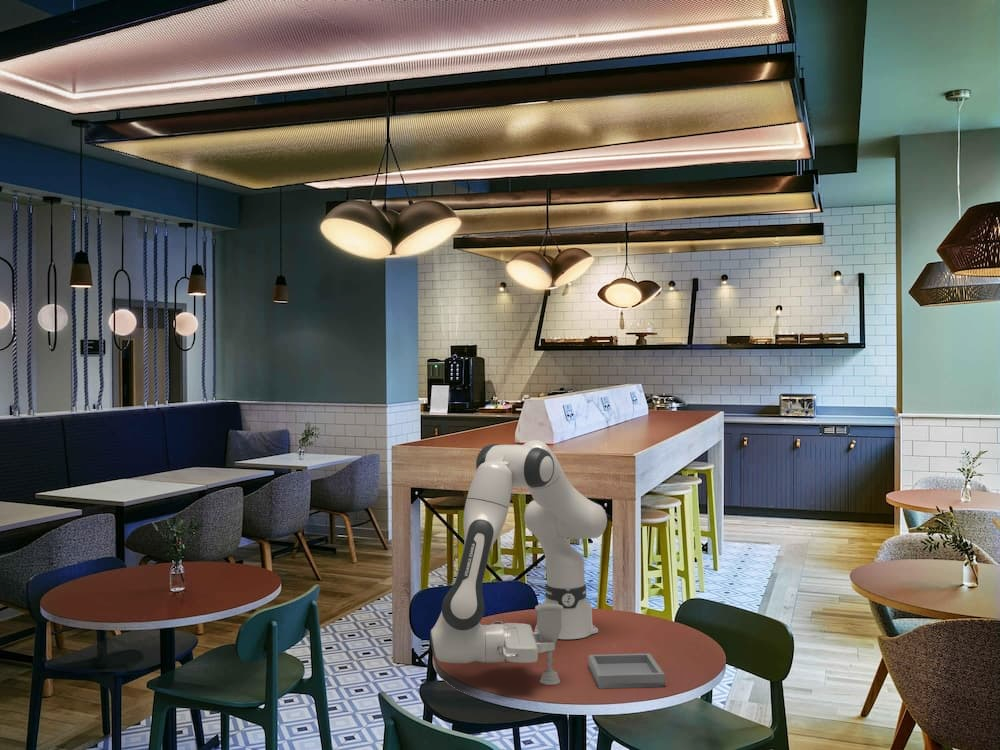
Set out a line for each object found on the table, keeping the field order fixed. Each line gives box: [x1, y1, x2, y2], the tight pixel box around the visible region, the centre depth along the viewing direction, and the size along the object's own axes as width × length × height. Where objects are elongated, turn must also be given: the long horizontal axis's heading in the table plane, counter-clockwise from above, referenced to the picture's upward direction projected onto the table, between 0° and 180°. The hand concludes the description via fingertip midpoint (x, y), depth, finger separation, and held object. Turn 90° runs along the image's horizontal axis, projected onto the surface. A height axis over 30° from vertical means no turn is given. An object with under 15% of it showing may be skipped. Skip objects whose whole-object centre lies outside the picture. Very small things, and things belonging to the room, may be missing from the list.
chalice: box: [534, 603, 563, 686], centre depth 206 cm, size 7×7×18 cm
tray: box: [587, 652, 666, 689], centre depth 209 cm, size 16×16×3 cm
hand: (553, 641), depth 206 cm, fingers closed on chalice, 5 cm apart
